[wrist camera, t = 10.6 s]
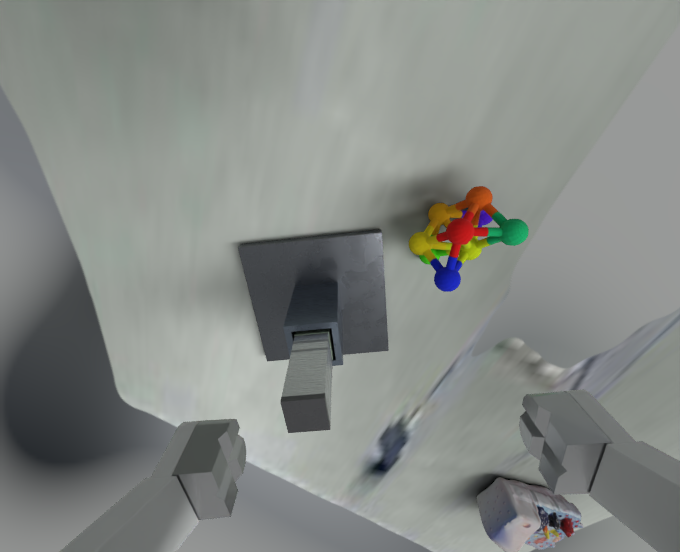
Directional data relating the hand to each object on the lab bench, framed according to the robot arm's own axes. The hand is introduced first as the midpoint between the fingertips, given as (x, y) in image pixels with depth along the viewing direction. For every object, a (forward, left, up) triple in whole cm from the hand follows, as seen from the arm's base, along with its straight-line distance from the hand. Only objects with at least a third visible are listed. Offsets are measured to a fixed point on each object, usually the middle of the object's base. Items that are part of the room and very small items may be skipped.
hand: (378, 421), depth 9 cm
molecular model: (+6, +13, -37) cm, 40 cm away
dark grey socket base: (+16, -6, -37) cm, 41 cm away
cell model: (+70, +31, -38) cm, 85 cm away
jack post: (+16, -6, -31) cm, 36 cm away
